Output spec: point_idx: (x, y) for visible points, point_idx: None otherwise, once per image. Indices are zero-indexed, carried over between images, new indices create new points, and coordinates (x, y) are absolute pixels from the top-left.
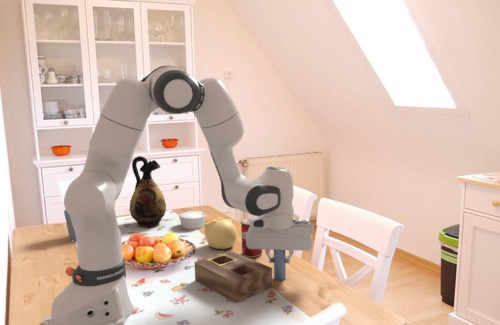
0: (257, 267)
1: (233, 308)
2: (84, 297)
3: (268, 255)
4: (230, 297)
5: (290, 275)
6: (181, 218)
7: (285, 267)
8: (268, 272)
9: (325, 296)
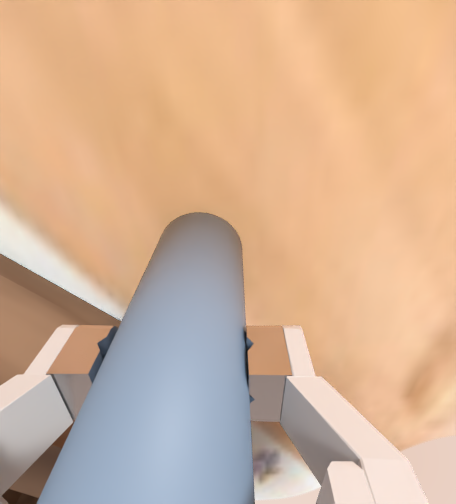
0: (33, 478)
1: None
2: None
3: (27, 454)
4: None
5: (277, 199)
6: None
7: (244, 305)
8: None
9: (433, 403)
